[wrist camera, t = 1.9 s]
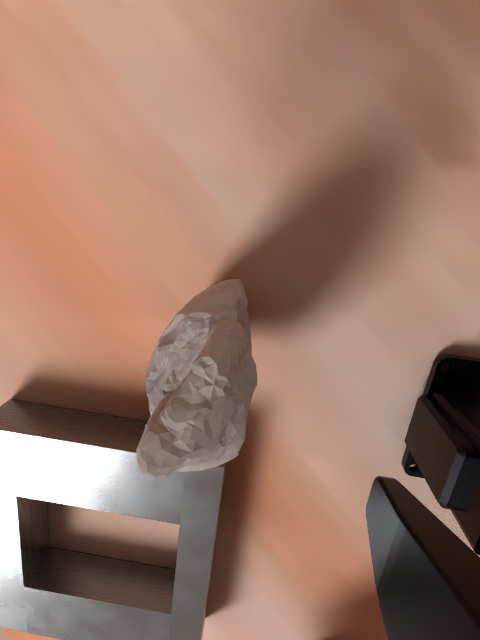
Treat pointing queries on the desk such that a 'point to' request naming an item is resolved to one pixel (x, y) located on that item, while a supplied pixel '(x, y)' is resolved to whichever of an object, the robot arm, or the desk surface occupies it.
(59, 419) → the socket block
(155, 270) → the desk surface
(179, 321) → the pale grey rock
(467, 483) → the robot arm
